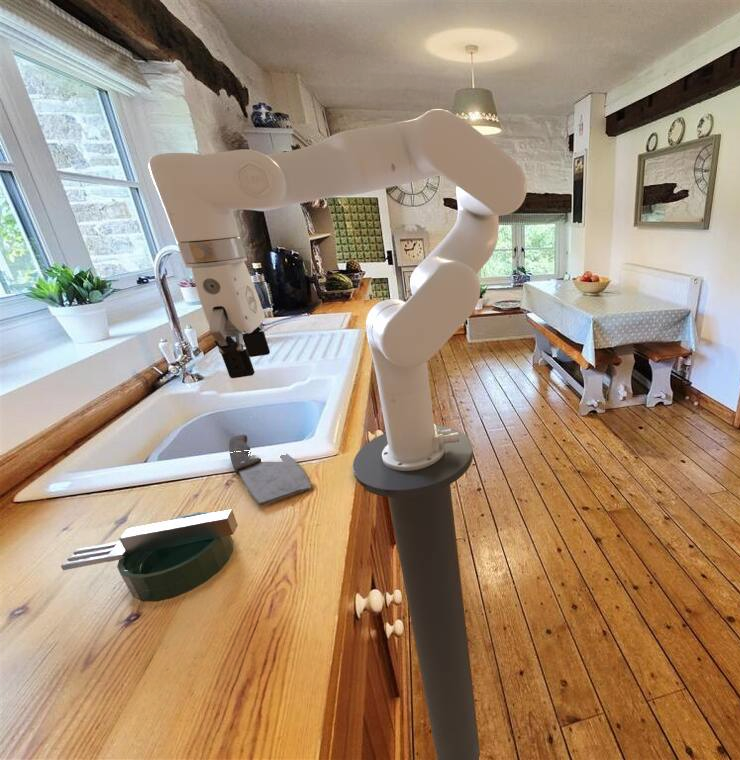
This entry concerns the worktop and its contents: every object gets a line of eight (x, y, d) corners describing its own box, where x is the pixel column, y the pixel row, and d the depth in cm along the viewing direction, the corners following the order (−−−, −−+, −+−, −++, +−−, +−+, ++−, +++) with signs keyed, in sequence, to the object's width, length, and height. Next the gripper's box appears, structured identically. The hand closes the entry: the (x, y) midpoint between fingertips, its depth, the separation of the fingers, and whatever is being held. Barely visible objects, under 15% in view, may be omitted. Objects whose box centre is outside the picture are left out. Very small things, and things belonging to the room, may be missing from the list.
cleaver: (219, 449, 90) (216, 441, 89) (267, 432, 96) (265, 424, 95) (261, 513, 71) (257, 503, 70) (317, 486, 77) (315, 477, 76)
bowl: (245, 529, 67) (236, 505, 65) (217, 592, 56) (205, 564, 54) (159, 546, 64) (147, 521, 62) (112, 615, 53) (95, 587, 51)
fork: (239, 522, 61) (233, 506, 60) (232, 537, 58) (225, 521, 57) (79, 553, 57) (69, 536, 55) (62, 571, 54) (51, 554, 53)
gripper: (223, 256, 51) (264, 381, 58) (258, 245, 66) (288, 345, 73) (153, 263, 49) (204, 390, 56) (206, 250, 65) (242, 351, 72)
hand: (252, 365), depth 65 cm, fingers open, 9 cm apart
